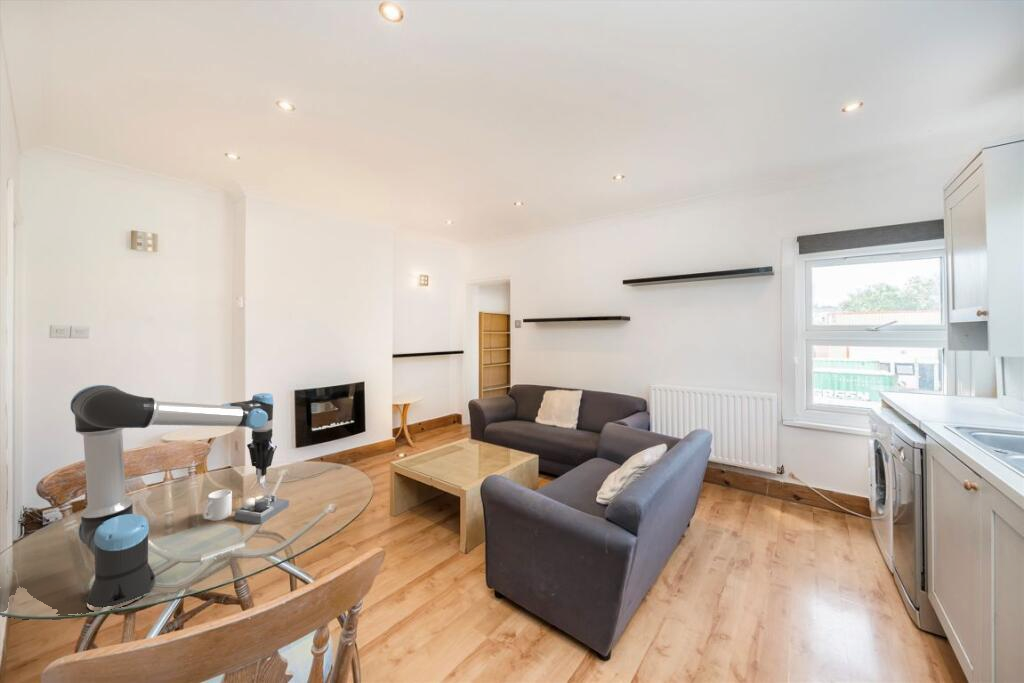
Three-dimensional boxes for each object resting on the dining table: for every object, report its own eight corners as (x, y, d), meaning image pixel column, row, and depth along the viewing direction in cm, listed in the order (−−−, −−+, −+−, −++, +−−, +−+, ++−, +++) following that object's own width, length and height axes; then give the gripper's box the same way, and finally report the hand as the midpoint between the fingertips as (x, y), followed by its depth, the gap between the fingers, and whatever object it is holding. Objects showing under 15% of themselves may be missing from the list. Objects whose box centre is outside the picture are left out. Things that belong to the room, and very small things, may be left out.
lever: (270, 502, 173) (260, 476, 173) (267, 503, 173) (258, 477, 173) (273, 500, 174) (264, 475, 175) (271, 501, 175) (261, 476, 175)
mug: (210, 527, 157) (211, 503, 156) (194, 524, 158) (194, 500, 158) (236, 513, 169) (236, 490, 168) (220, 510, 170) (220, 488, 170)
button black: (260, 514, 163) (260, 507, 163) (252, 512, 164) (252, 505, 163) (269, 509, 167) (269, 502, 167) (260, 507, 168) (260, 501, 168)
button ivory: (248, 509, 164) (249, 502, 164) (240, 508, 165) (240, 501, 164) (257, 504, 168) (257, 498, 168) (248, 503, 169) (248, 496, 169)
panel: (260, 524, 162) (261, 510, 161) (234, 519, 164) (235, 506, 163) (288, 506, 177) (289, 494, 177) (264, 502, 180) (265, 490, 179)
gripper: (282, 428, 166) (280, 480, 167) (256, 425, 168) (255, 476, 170) (268, 433, 159) (267, 487, 160) (241, 430, 161) (240, 483, 162)
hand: (261, 482), depth 165 cm, fingers closed
